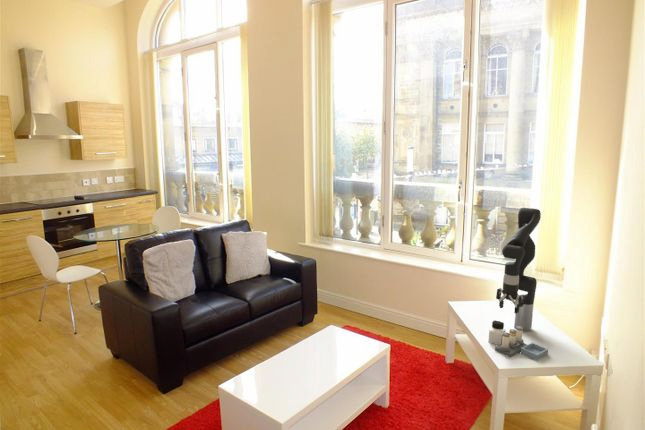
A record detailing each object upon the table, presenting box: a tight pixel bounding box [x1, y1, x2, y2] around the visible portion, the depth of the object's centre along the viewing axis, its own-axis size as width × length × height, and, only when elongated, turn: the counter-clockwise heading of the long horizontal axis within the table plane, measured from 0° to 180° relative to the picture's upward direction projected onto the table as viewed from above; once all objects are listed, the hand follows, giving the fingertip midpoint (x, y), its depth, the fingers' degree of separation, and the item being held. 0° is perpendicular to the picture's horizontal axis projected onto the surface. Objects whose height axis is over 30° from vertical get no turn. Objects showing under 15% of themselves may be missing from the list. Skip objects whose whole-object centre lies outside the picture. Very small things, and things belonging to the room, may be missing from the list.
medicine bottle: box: [488, 319, 506, 346], centre depth 234 cm, size 7×7×12 cm
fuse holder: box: [494, 326, 528, 358], centre depth 225 cm, size 18×9×11 cm, turn 125°
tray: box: [519, 342, 549, 362], centre depth 221 cm, size 11×9×3 cm
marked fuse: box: [508, 328, 517, 346], centre depth 225 cm, size 4×4×9 cm
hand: (508, 310), depth 222 cm, fingers open, 8 cm apart
